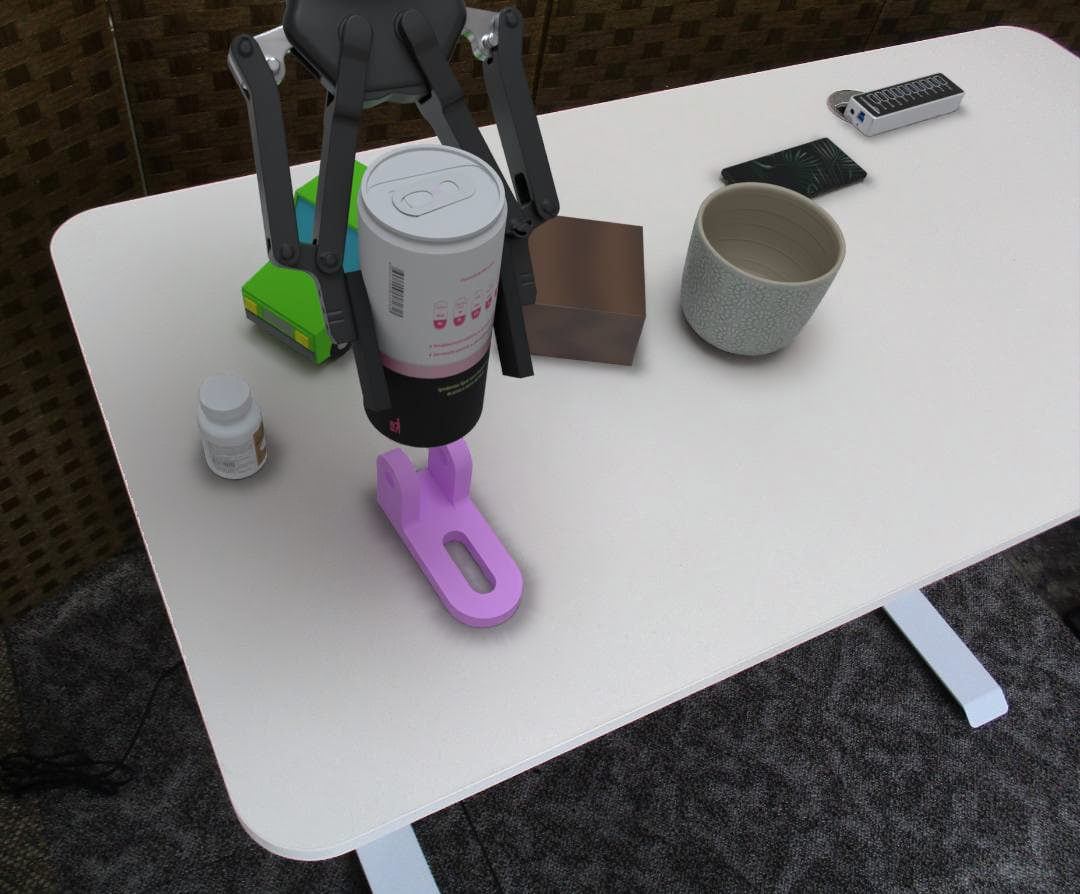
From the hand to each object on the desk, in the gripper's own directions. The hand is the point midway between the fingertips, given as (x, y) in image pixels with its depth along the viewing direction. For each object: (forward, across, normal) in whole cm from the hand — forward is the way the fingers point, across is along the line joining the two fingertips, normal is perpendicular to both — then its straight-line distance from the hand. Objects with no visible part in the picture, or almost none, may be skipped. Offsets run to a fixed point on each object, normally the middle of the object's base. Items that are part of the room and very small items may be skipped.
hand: (449, 390), depth 49 cm
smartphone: (-8, -51, -43) cm, 67 cm away
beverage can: (+1, 0, -6) cm, 7 cm away
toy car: (-4, -1, -39) cm, 39 cm away
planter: (+4, -35, -31) cm, 47 cm away
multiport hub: (-13, -71, -48) cm, 87 cm away
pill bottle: (+5, +9, -30) cm, 32 cm away
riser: (0, -21, -35) cm, 41 cm away
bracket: (+14, -3, -21) cm, 25 cm away
